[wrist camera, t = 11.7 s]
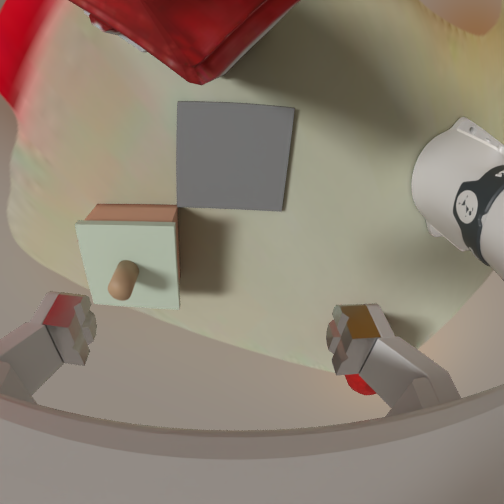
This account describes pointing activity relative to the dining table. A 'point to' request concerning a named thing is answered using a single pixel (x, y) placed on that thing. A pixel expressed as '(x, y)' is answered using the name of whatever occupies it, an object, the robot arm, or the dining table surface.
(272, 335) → the dining table surface
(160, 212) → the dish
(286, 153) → the mat
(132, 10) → the bottle
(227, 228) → the dining table surface
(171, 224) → the lid
